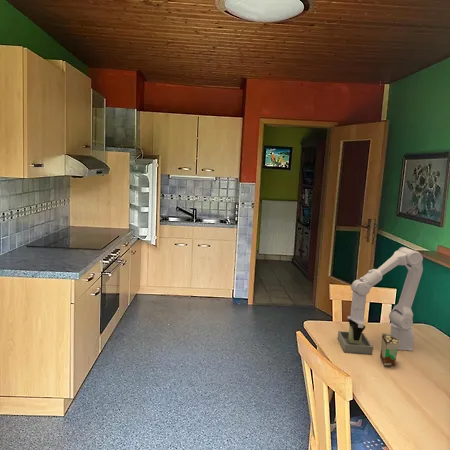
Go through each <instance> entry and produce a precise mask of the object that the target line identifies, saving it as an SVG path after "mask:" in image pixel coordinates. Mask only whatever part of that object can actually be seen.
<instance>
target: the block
mask: <svg viewBox="0 0 450 450" xmlns="http://www.w3.org/2000/svg"><path fill="white" fill-rule="evenodd" d="M348 332H349V335H348V340H349V341H350V343H357V344H361V338H362V334H361V336H360V339H359V341H358V340H354V338H353V328H352V326H350V325H349V327H348Z"/></svg>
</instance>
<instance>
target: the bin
mask: <svg viewBox="0 0 450 450" xmlns="http://www.w3.org/2000/svg"><path fill="white" fill-rule="evenodd" d="M348 335H349V331H342V330H338V331H337V340H338V343H339V344H340V346H341V348H342V350H343V352H344V353H345V354H355V355H357V354H358V355H368V356H369V355H371V356H373V353H374V352H373V350H374V346H373V345H372V343H371V342H370V340H369V339H368V337H367V336H366V334H365V333H364V332H362V338H361V344H357V343H350V341H349V340H348Z"/></svg>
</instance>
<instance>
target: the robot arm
mask: <svg viewBox="0 0 450 450" xmlns="http://www.w3.org/2000/svg"><path fill="white" fill-rule="evenodd" d="M423 260H424V257H423V256H422V254H421V252H419V251H418V250H414V249H410V248H408V247H405V246H401V247H399V248H398V250H395V251H394V253H393V254H392V255H391V257H390V258H388V259H387V260H386V261H385V262H383V264H382V265H380V266H379V267H378V268H372V269H369V270H368V271H367V273H365V274H364V275H363V276H361V277H359V279H355V280H354V281H353V282H352V283H351V285H350V289H351V291H352V295H351V297H352V298H351V304H350V305H351V307H350V313H349V314H350V315H348V316H347V318H346V319H347V321H348V323H349V326H352V328H353V338H354V340H358V341H359V339H360V336H361V334H362V333H364V330H365V329H366V325H364V322H365V313H366V303H367V295H369V294H370V291H371V289H372V288H373V287H374V286H376V285H377V284H379V282H381V281H382V280H383V276H384V275H386V274H388V272H390V271H391V270H393V269H394V268H396V267H397V266H405V267H406V269H407V273H406V278H405V281H404V283H403V287H402V290H401V294H400V296H399V300H398V303H397V304H395V305H394V306H393V309H392V310H391V311H390V313H389V315H388V319H389V321H390V330H389V331H390V332H389V335H392V336H394V337H396V338H398V339H399V342H400V348H398V351H399V350H400V351H401V350H402V351H410V352H411V351H414V343H415V342H414V340H415V331H414V328H412V327H413V323H414V321H413V317H414V313H413V310H412V306H413V304H414V299H415V296H416V293H417V291H418V288H419V284H420V280H421V278H422V274H423V271H424V267H423Z"/></svg>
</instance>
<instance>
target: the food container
mask: <svg viewBox="0 0 450 450" xmlns="http://www.w3.org/2000/svg"><path fill="white" fill-rule="evenodd" d="M380 341H381V342H380V355H379V357H380V361H381V363H382V366H383V368H392V367H394V366H395V364H396V360H397V355H398V351H399V349H398V348H400V342H399V339H398V338H396V337H394V336H392V335H390V333H383V332H382V333H381V340H380Z"/></svg>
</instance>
